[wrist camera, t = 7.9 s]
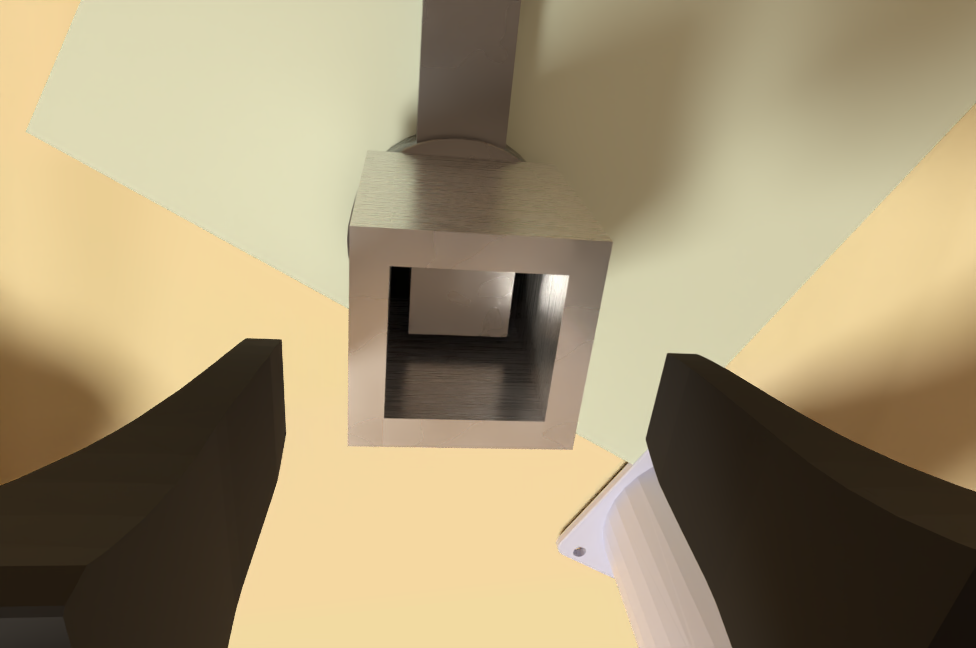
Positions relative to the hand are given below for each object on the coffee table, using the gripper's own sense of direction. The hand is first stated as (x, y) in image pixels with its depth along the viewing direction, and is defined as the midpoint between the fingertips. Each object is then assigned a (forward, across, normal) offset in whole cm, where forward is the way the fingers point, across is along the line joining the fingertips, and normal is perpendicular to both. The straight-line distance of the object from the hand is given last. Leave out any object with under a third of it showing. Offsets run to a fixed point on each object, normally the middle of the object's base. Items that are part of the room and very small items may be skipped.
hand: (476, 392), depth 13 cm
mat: (+9, -2, -4) cm, 11 cm away
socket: (+7, 0, 0) cm, 7 cm away
